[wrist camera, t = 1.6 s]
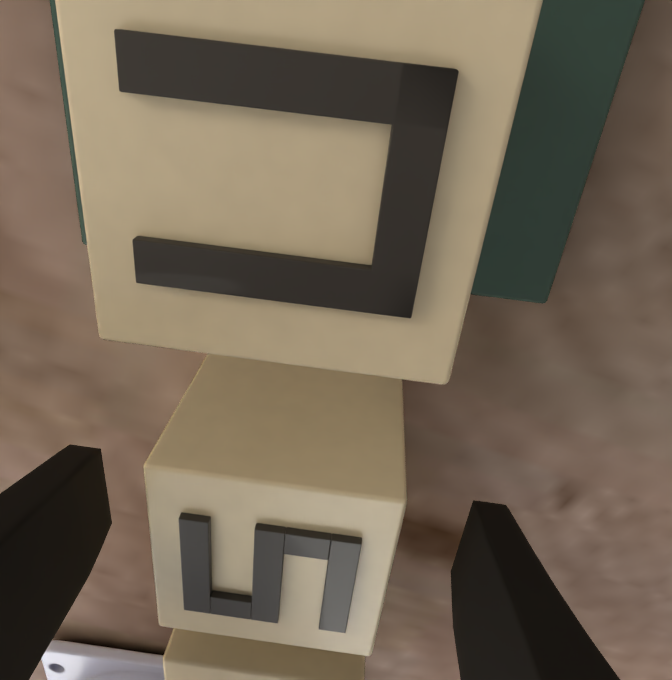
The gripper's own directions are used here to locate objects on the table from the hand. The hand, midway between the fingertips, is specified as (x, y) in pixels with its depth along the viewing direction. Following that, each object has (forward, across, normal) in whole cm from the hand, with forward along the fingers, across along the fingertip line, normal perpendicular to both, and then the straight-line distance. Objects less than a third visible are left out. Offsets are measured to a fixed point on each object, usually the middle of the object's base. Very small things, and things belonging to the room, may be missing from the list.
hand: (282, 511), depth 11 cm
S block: (+3, 0, 0) cm, 3 cm away
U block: (+2, 0, -7) cm, 7 cm away
